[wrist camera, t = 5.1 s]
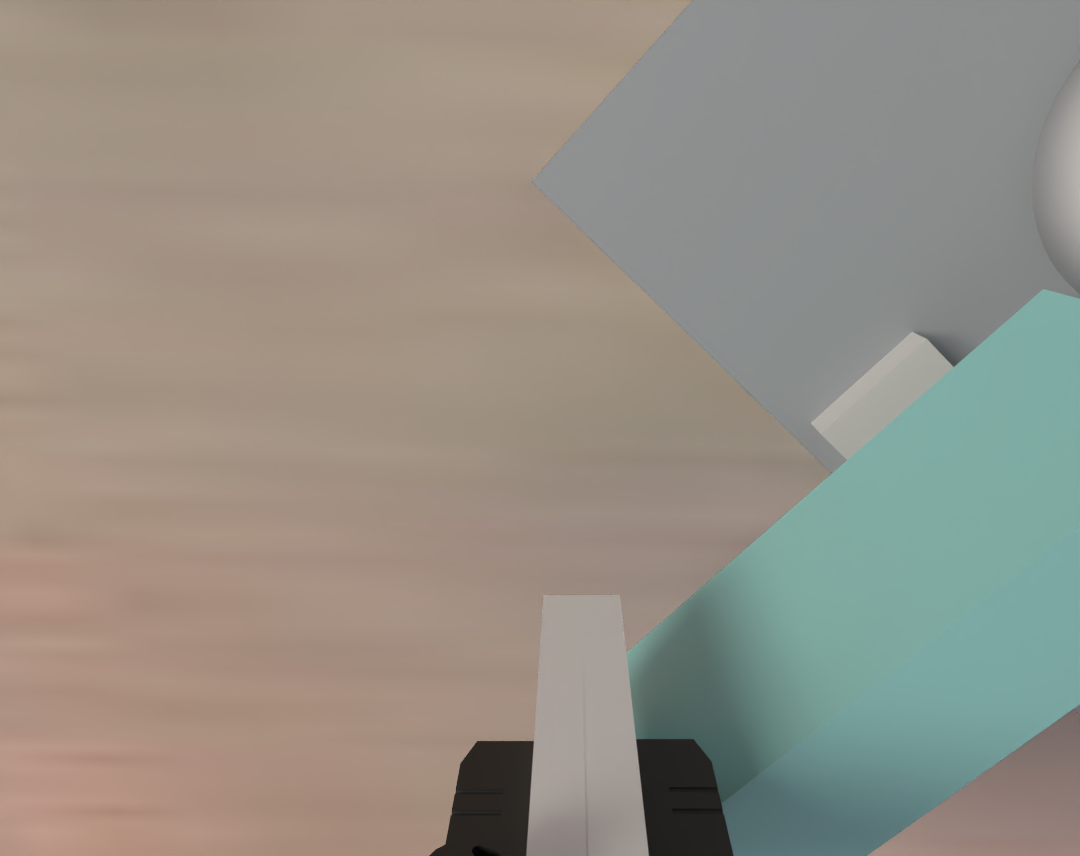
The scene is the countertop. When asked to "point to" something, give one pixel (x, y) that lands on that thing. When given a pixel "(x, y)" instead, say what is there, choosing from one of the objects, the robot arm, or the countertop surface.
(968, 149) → the post board
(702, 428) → the countertop surface
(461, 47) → the countertop surface
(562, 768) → the robot arm
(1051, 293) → the domed saucepan
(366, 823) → the countertop surface
